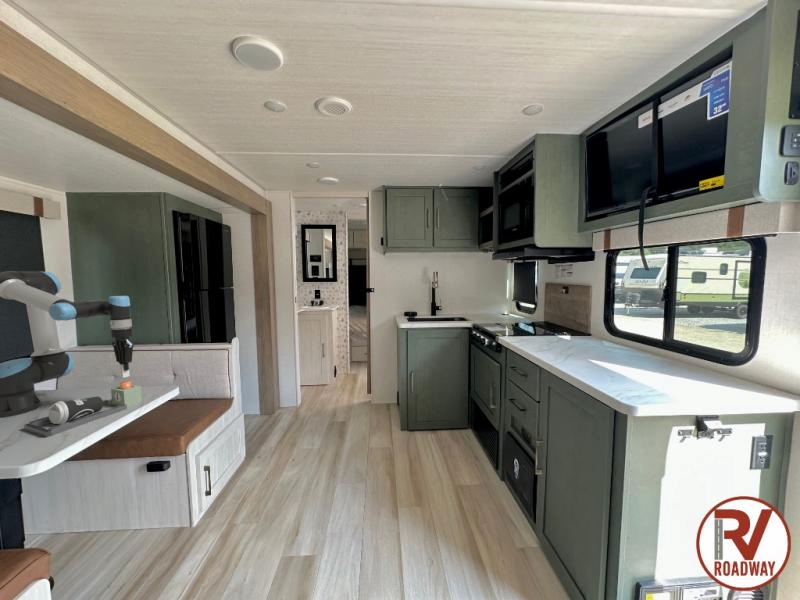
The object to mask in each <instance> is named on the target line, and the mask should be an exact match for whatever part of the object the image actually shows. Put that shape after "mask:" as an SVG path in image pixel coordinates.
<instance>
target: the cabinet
mask: <svg viewBox="0 0 800 600" xmlns="http://www.w3.org/2000/svg"><path fill="white" fill-rule="evenodd" d="M141 389H142V387H141V386H140V385H135V384H131V388H128V389H124V390H121V389H120V385H119V386H115V387H112V388H110V394H111V395H110V396H111V404H112V405H114V406H120V405H123V404H126V405H127V407H129V406H132V405H135V404H138V403H141V402H143V401H142V390H141Z"/></svg>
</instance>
